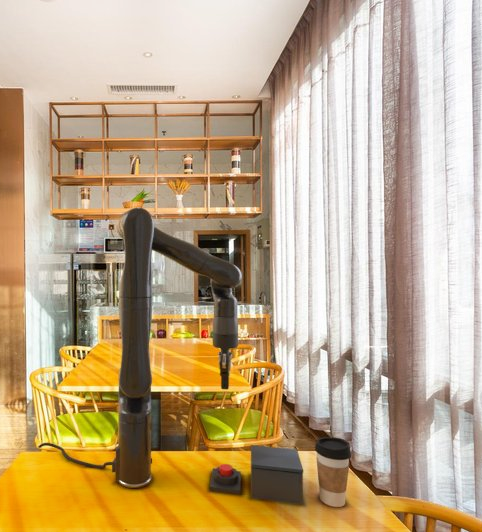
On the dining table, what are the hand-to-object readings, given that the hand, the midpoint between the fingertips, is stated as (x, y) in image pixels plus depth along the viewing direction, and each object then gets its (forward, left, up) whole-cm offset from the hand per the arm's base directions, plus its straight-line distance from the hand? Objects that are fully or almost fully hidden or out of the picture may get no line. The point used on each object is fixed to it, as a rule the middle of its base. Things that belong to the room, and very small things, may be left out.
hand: (224, 388), depth 119 cm
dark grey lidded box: (+14, -10, -23) cm, 29 cm away
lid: (+14, -10, -15) cm, 23 cm away
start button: (+1, -10, -20) cm, 23 cm away
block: (+1, -10, -23) cm, 25 cm away
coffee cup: (+28, -12, -23) cm, 38 cm away
